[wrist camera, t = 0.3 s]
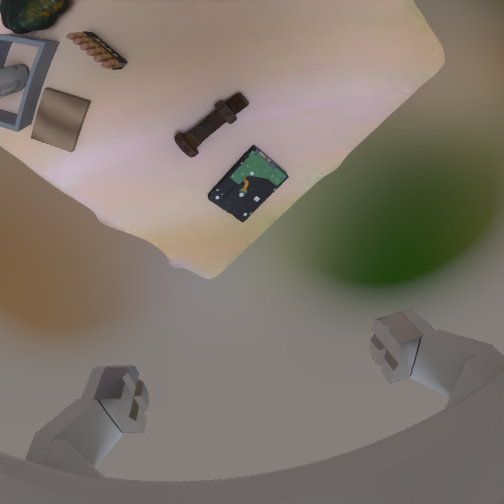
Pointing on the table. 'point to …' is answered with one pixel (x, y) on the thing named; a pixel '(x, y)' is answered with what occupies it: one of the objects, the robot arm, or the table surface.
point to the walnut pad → (59, 119)
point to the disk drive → (247, 184)
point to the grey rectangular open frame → (35, 80)
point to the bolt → (211, 124)
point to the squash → (30, 14)
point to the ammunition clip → (98, 49)
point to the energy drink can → (12, 79)
